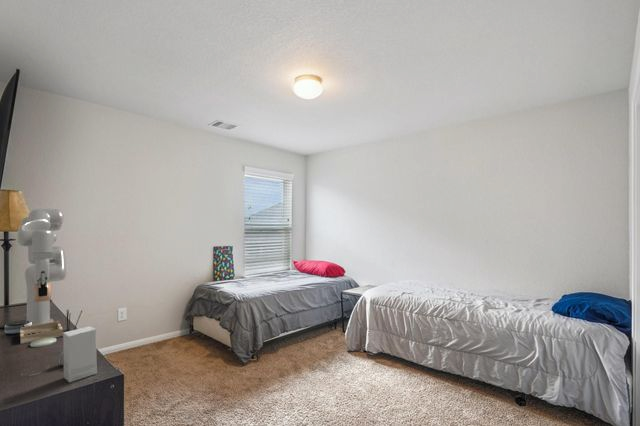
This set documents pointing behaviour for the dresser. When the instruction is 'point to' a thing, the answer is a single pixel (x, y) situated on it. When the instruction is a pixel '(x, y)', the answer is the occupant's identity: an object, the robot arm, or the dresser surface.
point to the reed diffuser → (61, 358)
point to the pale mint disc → (43, 342)
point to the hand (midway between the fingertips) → (42, 294)
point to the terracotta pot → (42, 298)
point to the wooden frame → (40, 328)
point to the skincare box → (79, 353)
